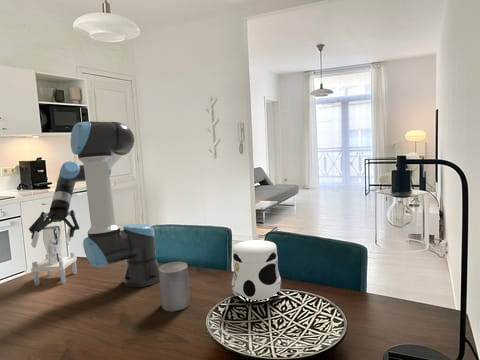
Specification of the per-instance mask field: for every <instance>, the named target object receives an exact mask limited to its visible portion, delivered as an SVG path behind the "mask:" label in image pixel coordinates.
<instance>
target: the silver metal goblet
mask: <svg viewBox="0 0 480 360" xmlns="http://www.w3.org/2000/svg"><path fill="white" fill-rule="evenodd" d="M42 240H43V244H44V248H45V251H46V254H47V264H57V263H59V261H60V260H63V258H62V257H63V256H62V243H63V236H62V230H61V226H60V225H52V226H46V227H45V228H43V229H42Z"/></svg>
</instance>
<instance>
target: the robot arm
mask: <svg viewBox="0 0 480 360" xmlns="http://www.w3.org/2000/svg"><path fill="white" fill-rule="evenodd" d="M134 145H135V136H134V133H133V131H132V130H131V129H130V128H129V127H128V126H127V125H126V124H124V123H122V122H119V121H89V120H88V121H81V122H77V123H75V124H74V125H73V127H72V129H71V134H70V150H71V152H72V153H73V155H77V158H78V161H80V162H81V163H82V164H80V165H79V164H78V162H76V161H71V160H69V161H65V162H63V163H62V165H61V167H60V169H59V174H58V178H57V180H56V181H57V182H56V184H55V185H56V186H55V189H54V193H53V196H52V199H51V204H50V207H49V211H48V212H45V211H41V213H40V215H39V217H38V218H37V219H36V220H35V221H34V222H33V223H32V224H31V226H30V227H29V228H28V231H29V232H30V233H31V238H30V239H31V244H30V245H31V247H32V248H33V249H36V248H37V244H38V241H39V236H40V232H41V231H43V228H45V227H48V225H51V224H53V223H57V222H59V223H61V222H62V221H63V222H64V223H65V224H66V226H67V227H68V228H67V234H66V237H65V241H64V242H65V244H66V245H67V246H70V243H71V239H72V238H73V237H74V234H75V231H76V230H80V225H79V223H78V220H77V219H76V213H75V211H74V209H70V206H71V201H72V197H73V193H74V189H75V185H76V183H77V182H85V185H86V188H85V189H86V194H87V202H88V203H87V204H88V210H89V211H88V212H89V219H90V228H89V230H88V231H87V237H85V238H83V243H82V247H83V252H84V254H85V257H86V259H87V261H88V262H89V264H90V265H91V266H92V267H94V268H101V267H107V266H109V265H113V264H116V263H120V262H124V261H126V267H125V272H124V275H123V283H124V285H125V286H126V287H130V288H143V287H149V286H152V285H154V284H157V283H158V282H159V283H160V278H159V267H160V265H159V262H158V260H157V251H156V238H155V237H156V235H155V230H154V227H153V226H152V225H150V224H147V223H146V224H145V223H130V224H129V223H128V224H125V225H124V226H123V230H121V226H119V225H118V224H117V223H116V217H115V210H114V202H113V201H114V200H113V193H112V185H111V174H112V170H111V169H112V167H114V166H115V164H116V163H117V162H118V161H119V160H120V159H121V158H122V157H123V156H126V155H127V154H129V153H130V152H131V151H132V149H133V147H134ZM69 210H70V211H69ZM68 216H69V217H70V218H71V220H72V222H73V225H72V223H71V222H70V221H69V220H68V219H67V217H68Z"/></svg>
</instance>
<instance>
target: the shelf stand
mask: <svg viewBox="0 0 480 360" xmlns="http://www.w3.org/2000/svg"><path fill="white" fill-rule="evenodd" d="M69 253H70V256H62V258H63V260H60V261H59V263H57V264H47V253H45V259H44V260H43V259H42V261H40V262H37V261H34V262H32V263H31V265H32V267H31V268H30V271H31V273H32V275H33V282H34V286H39V285H41V283H40V275H39V272H47V276H48V277H51V276H53V271H59V277H60V284H61V285H64V284H66V283H67V281H66V270H65V269H66V268H68V267H70V266H71V271H72V272H71V273H72V275H76V274H77V273H78V270H77V260H78V258H77V255H76V253H75V251H71V252H69Z"/></svg>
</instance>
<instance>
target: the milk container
mask: <svg viewBox="0 0 480 360" xmlns="http://www.w3.org/2000/svg"><path fill="white" fill-rule="evenodd" d="M277 249H278V248H277V244H276V243H274V242H273V241H269V240H264V239H263V240H260V239H257V240H256V239H255V240H254V239H253V240H245V241H241V242H237V243H236V244H234V245H233V246H232V267H233V273H232V279H231V289H232V293H233V295H234V296H235V297H236V295H242V296H243V297H245V298H248V299H251V300H264V299H267V298H270V297H272V296H273V295H275V294H276V293H277V292H278V291H279V290H280V291H281V290H282V279H281V276H280V275H281V274H280V272H279V266H278V265H279V260H278V250H277Z"/></svg>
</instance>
